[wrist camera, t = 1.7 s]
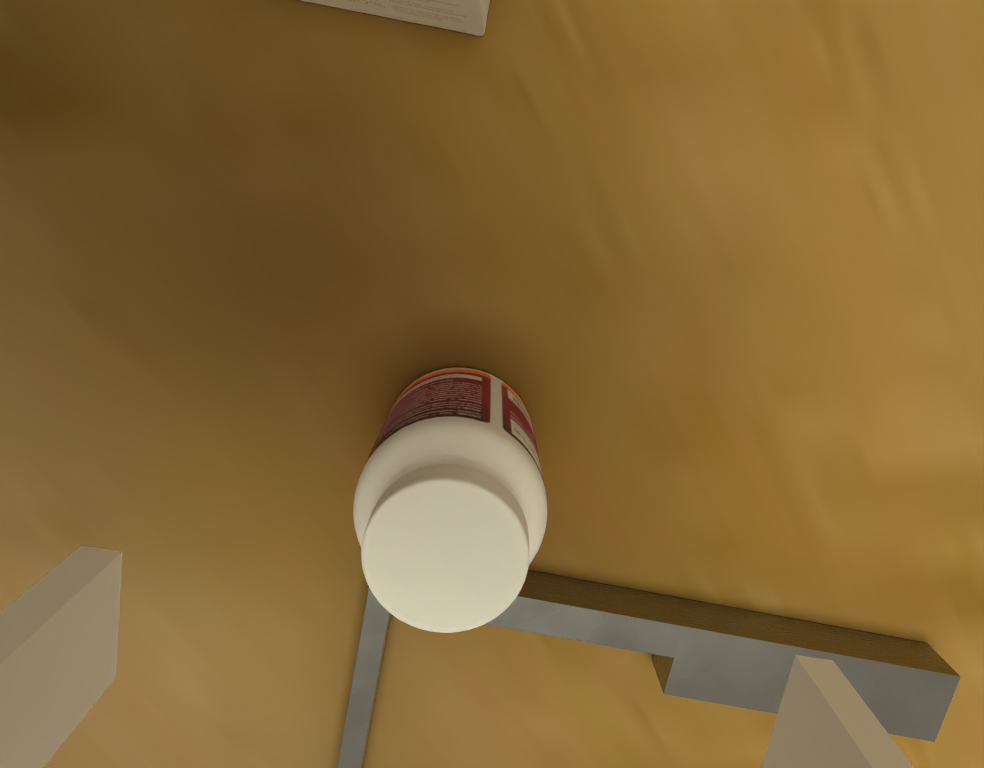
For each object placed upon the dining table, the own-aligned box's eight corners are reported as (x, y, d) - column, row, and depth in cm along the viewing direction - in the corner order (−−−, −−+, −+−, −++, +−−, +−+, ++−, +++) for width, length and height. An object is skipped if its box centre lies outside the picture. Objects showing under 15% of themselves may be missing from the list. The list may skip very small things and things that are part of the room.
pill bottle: (363, 467, 31) (294, 603, 20) (424, 338, 30) (384, 412, 19) (494, 526, 32) (494, 690, 21) (559, 403, 30) (596, 510, 20)
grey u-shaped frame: (331, 822, 35) (319, 866, 33) (381, 543, 32) (372, 569, 29) (827, 905, 36) (850, 953, 34) (927, 643, 33) (960, 676, 30)
